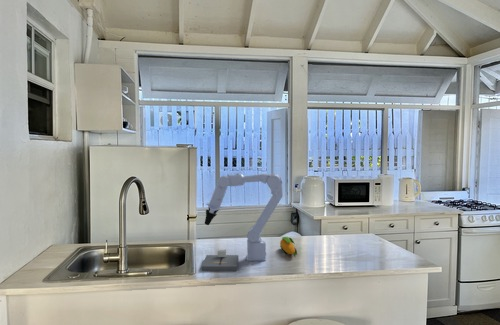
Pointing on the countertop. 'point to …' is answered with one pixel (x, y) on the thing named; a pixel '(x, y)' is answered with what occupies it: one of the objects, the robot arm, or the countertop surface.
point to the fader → (221, 252)
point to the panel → (220, 263)
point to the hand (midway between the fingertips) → (207, 222)
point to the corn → (288, 246)
